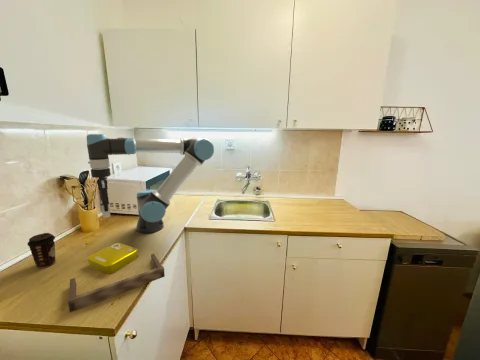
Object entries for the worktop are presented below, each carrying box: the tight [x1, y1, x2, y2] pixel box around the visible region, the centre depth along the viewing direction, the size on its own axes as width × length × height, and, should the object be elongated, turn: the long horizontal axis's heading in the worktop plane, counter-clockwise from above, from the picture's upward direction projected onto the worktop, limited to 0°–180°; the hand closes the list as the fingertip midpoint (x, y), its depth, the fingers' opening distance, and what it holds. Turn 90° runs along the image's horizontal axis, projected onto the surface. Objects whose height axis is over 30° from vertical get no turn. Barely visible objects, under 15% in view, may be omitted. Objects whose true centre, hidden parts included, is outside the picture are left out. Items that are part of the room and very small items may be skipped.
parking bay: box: [67, 253, 165, 313], centre depth 82 cm, size 30×14×4 cm, turn 126°
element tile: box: [86, 242, 139, 275], centre depth 95 cm, size 15×15×5 cm
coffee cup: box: [27, 232, 56, 269], centre depth 91 cm, size 9×8×13 cm
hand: (106, 215), depth 103 cm, fingers open, 6 cm apart
